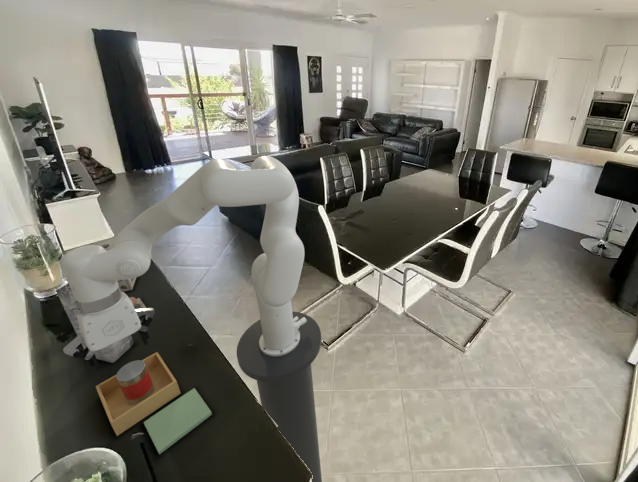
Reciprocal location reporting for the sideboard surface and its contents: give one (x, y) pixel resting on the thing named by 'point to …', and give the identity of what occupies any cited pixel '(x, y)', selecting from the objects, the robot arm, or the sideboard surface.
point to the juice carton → (105, 354)
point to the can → (135, 382)
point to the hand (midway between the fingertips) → (122, 353)
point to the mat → (177, 420)
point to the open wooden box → (128, 414)
